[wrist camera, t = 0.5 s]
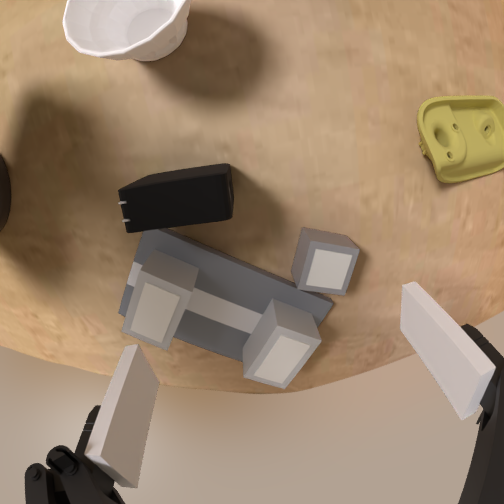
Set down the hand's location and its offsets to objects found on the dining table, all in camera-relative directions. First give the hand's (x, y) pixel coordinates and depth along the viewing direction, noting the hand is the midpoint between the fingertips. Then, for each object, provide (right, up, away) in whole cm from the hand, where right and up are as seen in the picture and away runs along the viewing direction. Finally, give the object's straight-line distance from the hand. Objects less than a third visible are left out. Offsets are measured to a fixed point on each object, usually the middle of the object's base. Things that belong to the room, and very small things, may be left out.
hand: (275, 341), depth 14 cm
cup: (-13, +30, +13) cm, 36 cm away
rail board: (-5, -3, +27) cm, 27 cm away
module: (+7, +4, +25) cm, 26 cm away
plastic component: (+27, +21, +19) cm, 39 cm away
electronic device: (-8, +12, +21) cm, 26 cm away
